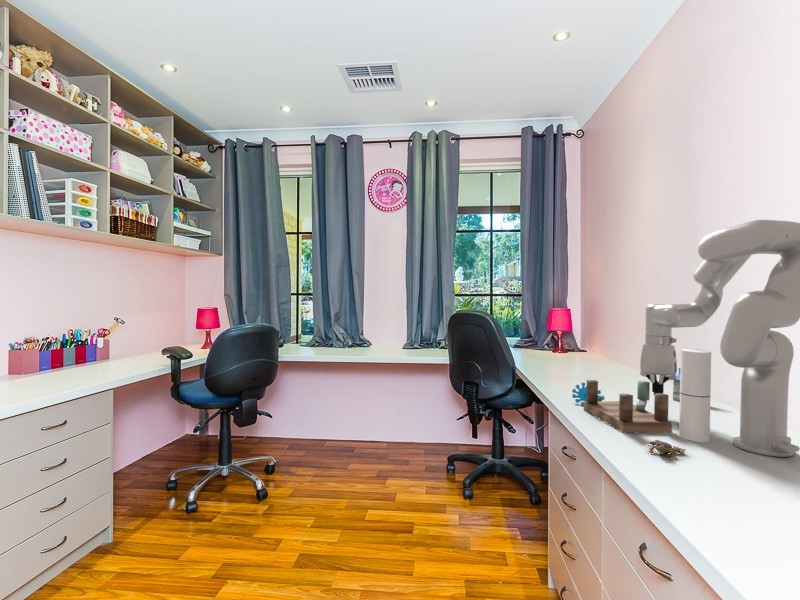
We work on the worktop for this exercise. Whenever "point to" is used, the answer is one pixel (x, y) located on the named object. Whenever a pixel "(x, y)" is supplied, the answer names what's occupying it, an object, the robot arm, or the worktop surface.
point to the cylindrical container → (695, 395)
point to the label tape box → (676, 388)
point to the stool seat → (628, 412)
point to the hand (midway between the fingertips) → (657, 394)
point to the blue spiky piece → (584, 394)
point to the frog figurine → (665, 448)
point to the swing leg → (642, 395)
